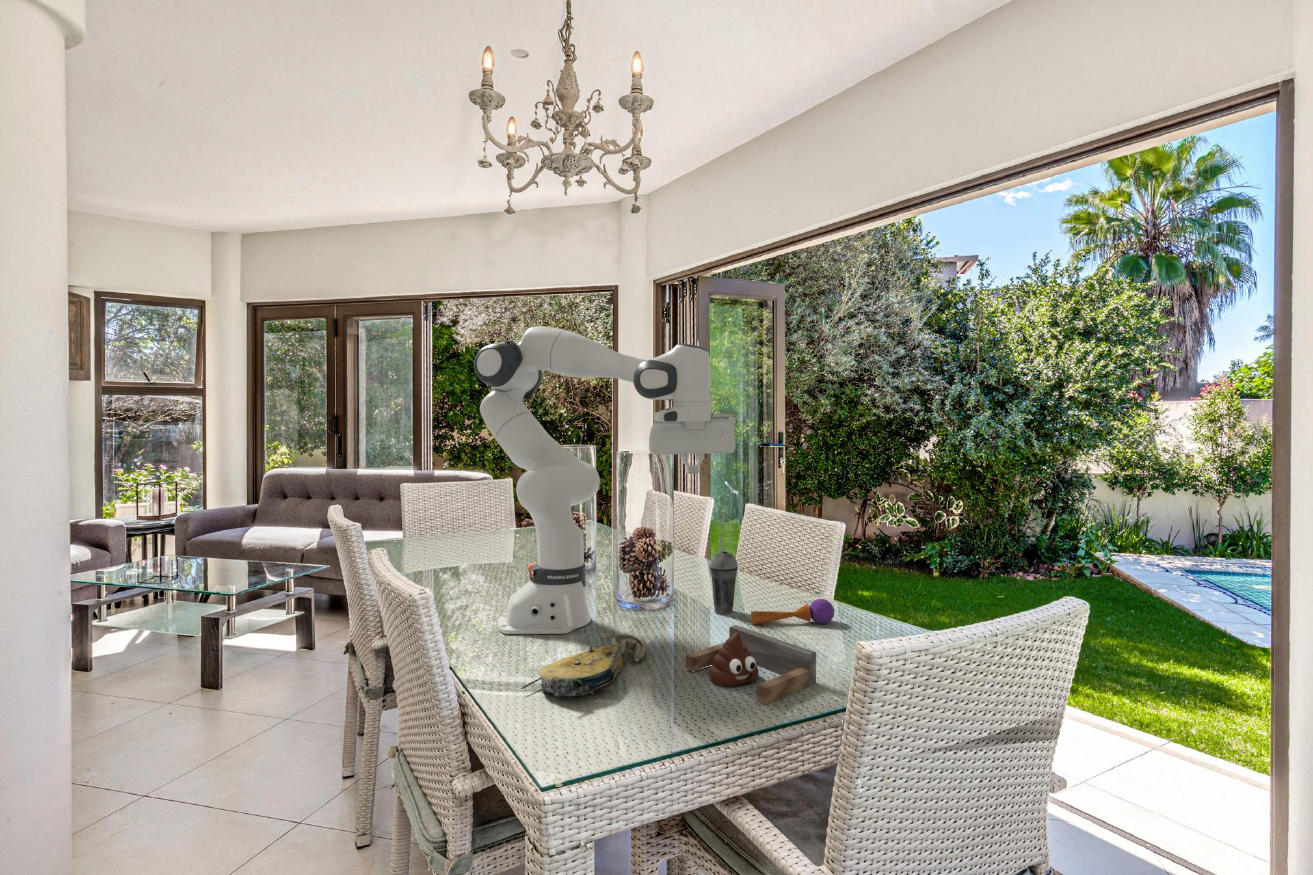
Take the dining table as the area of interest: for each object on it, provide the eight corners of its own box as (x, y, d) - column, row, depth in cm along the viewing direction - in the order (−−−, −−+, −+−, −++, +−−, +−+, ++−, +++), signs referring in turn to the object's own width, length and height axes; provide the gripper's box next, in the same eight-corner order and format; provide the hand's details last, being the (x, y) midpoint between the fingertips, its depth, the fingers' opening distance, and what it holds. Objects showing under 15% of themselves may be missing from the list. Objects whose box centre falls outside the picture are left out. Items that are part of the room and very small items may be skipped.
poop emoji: (744, 667, 141) (744, 622, 140) (768, 683, 133) (768, 635, 132) (701, 675, 137) (701, 629, 136) (722, 692, 129) (722, 643, 128)
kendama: (748, 604, 171) (828, 596, 172) (751, 628, 170) (831, 620, 171) (753, 607, 165) (835, 598, 166) (755, 632, 164) (838, 624, 165)
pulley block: (667, 629, 145) (570, 677, 120) (670, 657, 145) (574, 711, 120) (615, 627, 153) (514, 671, 129) (618, 653, 153) (518, 703, 128)
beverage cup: (743, 612, 176) (744, 535, 174) (721, 618, 172) (721, 538, 170) (725, 605, 182) (725, 530, 180) (703, 610, 178) (703, 533, 176)
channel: (765, 705, 123) (765, 672, 123) (685, 669, 139) (685, 640, 139) (815, 682, 133) (816, 652, 132) (735, 652, 149) (735, 624, 148)
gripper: (731, 413, 166) (731, 470, 167) (647, 414, 162) (647, 472, 163) (739, 413, 160) (739, 473, 160) (652, 414, 156) (652, 475, 156)
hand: (692, 473), depth 161 cm, fingers closed
